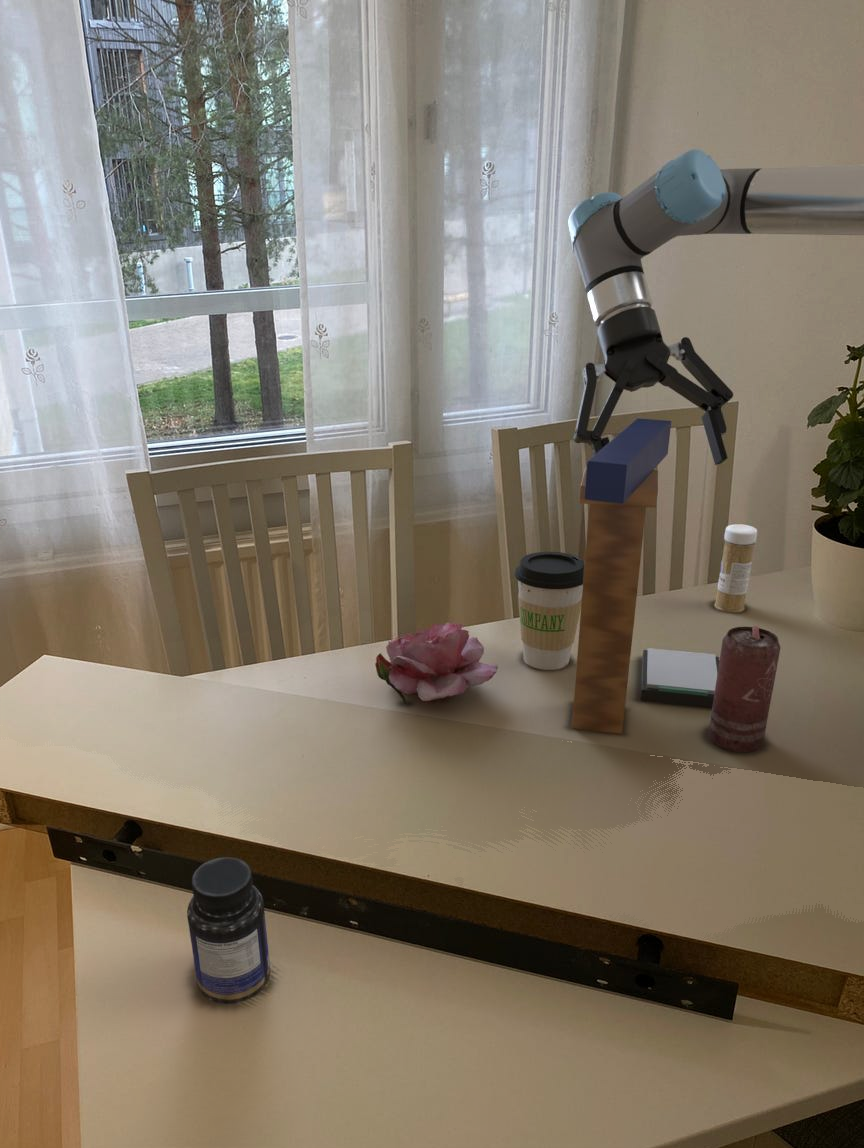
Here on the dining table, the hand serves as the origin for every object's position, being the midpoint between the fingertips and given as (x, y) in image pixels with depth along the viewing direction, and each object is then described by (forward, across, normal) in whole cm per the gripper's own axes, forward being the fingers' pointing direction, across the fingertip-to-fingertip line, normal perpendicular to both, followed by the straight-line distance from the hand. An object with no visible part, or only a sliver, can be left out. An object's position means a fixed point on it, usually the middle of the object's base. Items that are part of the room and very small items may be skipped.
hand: (669, 475), depth 116 cm
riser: (+28, +17, +1) cm, 33 cm away
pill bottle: (+39, +58, +39) cm, 80 cm away
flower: (+20, +36, -5) cm, 41 cm away
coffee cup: (+19, +20, -13) cm, 30 cm away
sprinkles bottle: (+18, -13, -30) cm, 37 cm away
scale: (+26, +4, -7) cm, 28 cm away
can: (+34, +3, +5) cm, 34 cm away
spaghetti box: (+1, +9, +15) cm, 18 cm away
